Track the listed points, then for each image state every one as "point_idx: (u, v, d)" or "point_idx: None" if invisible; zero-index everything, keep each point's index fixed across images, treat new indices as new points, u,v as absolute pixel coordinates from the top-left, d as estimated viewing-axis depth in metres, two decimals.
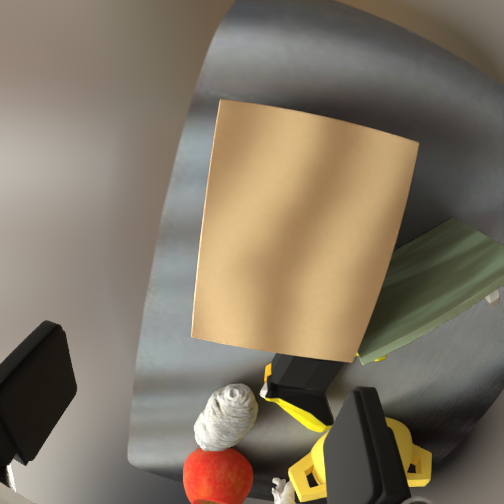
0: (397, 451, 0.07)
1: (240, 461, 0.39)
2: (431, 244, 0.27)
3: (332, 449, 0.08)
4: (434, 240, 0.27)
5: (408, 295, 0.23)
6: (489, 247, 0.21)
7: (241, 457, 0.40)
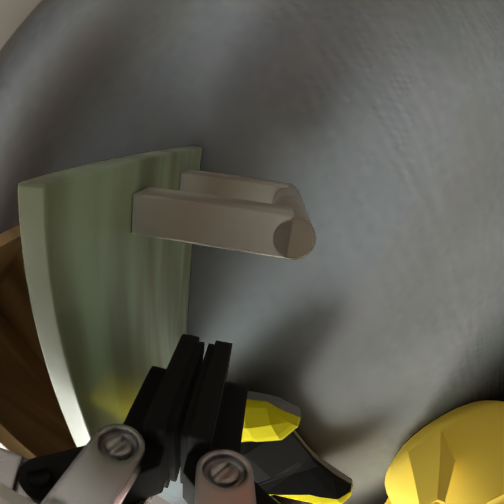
0: (243, 408, 0.08)
1: None
2: None
3: None
4: None
5: None
6: None
7: None
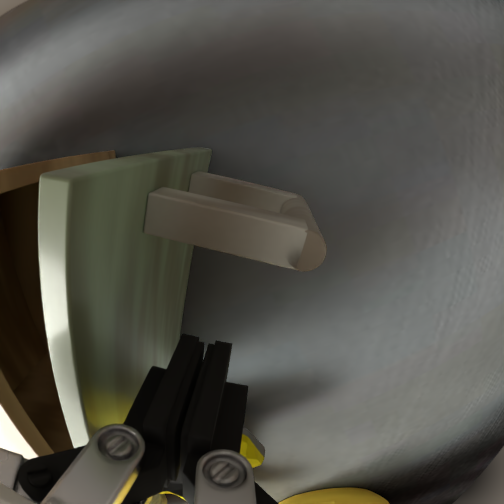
0: (243, 408, 0.08)
1: None
2: None
3: None
4: None
5: None
6: None
7: None
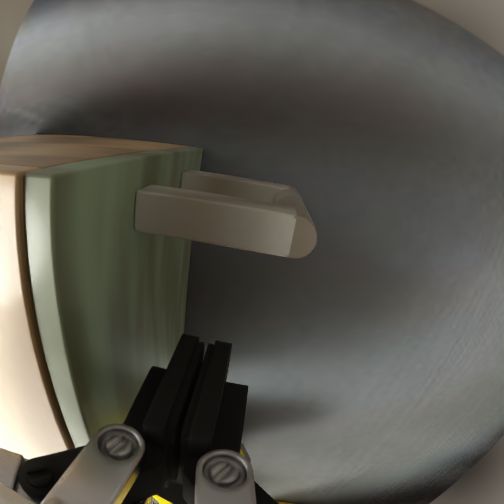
0: (243, 408, 0.08)
1: None
2: None
3: None
4: None
5: None
6: None
7: None
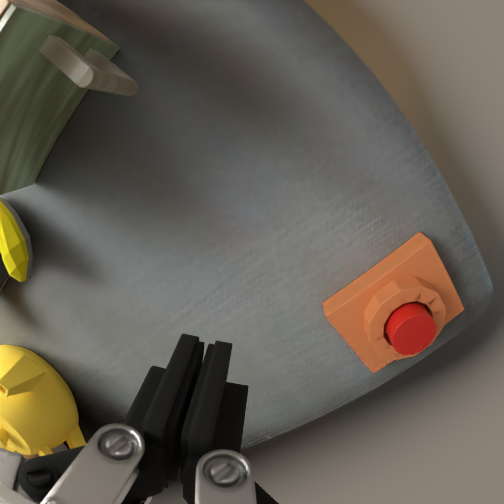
0: (243, 408, 0.08)
1: None
2: None
3: None
4: None
5: None
6: None
7: None
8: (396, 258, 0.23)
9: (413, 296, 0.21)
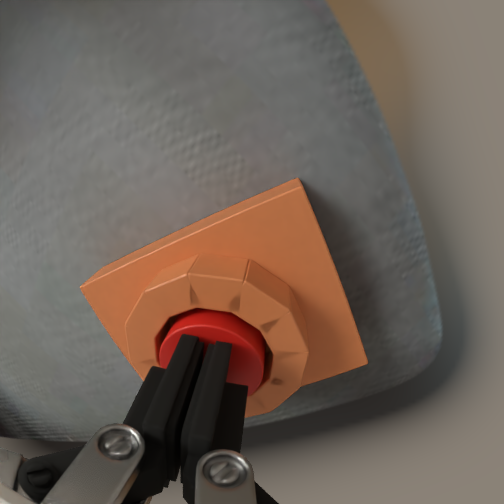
0: (243, 408, 0.08)
1: None
2: None
3: None
4: None
5: None
6: None
7: None
8: (224, 213, 0.12)
9: (222, 298, 0.10)
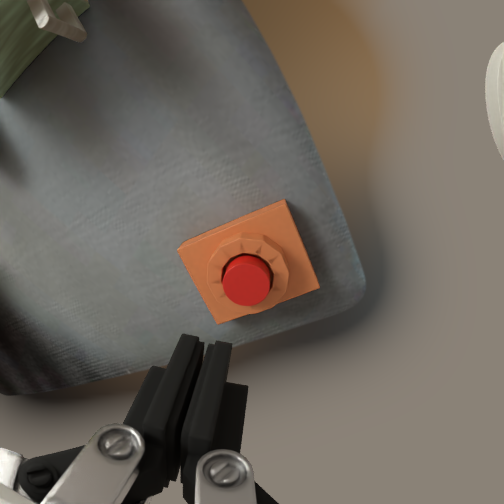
0: (243, 408, 0.08)
1: None
2: None
3: None
4: None
5: None
6: None
7: None
8: (252, 215, 0.27)
9: (253, 248, 0.25)
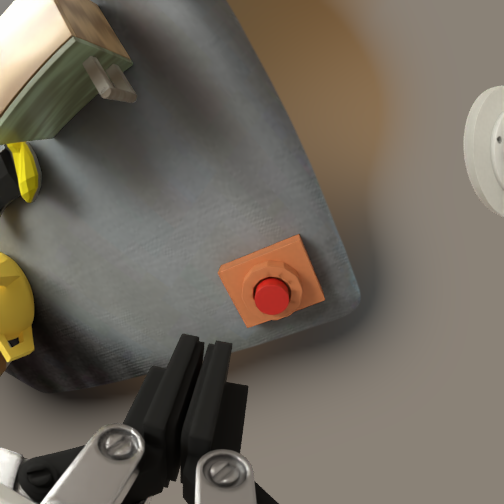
0: (243, 408, 0.08)
1: None
2: None
3: None
4: None
5: None
6: None
7: None
8: (275, 247, 0.36)
9: (277, 273, 0.34)
